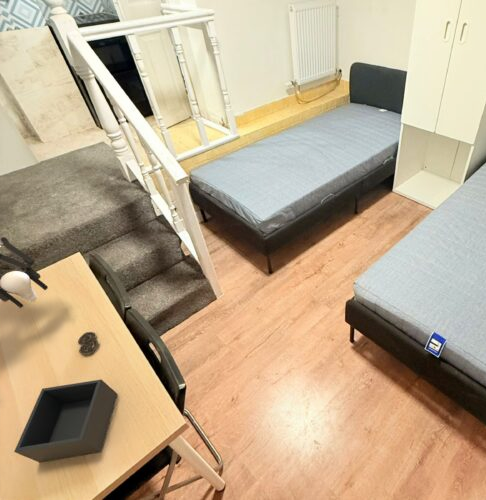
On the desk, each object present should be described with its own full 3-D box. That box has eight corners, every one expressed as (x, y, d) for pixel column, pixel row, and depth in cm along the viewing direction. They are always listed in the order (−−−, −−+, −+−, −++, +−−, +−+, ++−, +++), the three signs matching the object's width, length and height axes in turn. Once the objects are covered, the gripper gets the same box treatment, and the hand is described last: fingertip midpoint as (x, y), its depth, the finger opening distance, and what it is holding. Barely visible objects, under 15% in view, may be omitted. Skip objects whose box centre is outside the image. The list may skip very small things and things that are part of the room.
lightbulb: (44, 288, 99) (19, 262, 91) (48, 300, 95) (23, 275, 88) (20, 299, 96) (-8, 273, 88) (23, 312, 93) (-5, 287, 85)
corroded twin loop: (96, 330, 100) (94, 328, 99) (101, 349, 95) (99, 348, 94) (77, 339, 98) (75, 337, 97) (82, 359, 93) (80, 357, 92)
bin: (39, 462, 75) (13, 451, 69) (62, 402, 85) (42, 388, 79) (101, 452, 76) (81, 440, 70) (117, 393, 86) (101, 379, 80)
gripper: (-94, 256, 77) (-4, 321, 83) (-6, 210, 90) (67, 270, 95) (-85, 265, 83) (-1, 325, 89) (-4, 220, 95) (65, 276, 101)
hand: (34, 297), depth 92 cm, fingers closed on lightbulb, 6 cm apart
